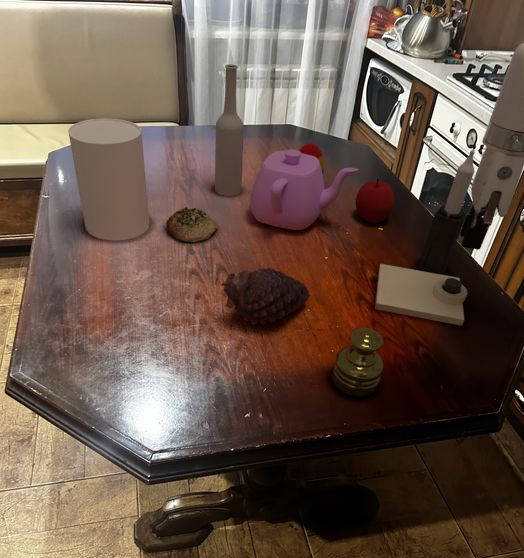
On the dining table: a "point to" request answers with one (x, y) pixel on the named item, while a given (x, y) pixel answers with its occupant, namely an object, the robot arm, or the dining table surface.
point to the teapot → (292, 190)
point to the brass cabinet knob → (359, 363)
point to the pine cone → (264, 294)
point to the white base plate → (418, 295)
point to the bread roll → (191, 225)
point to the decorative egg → (313, 153)
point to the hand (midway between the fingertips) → (469, 241)
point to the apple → (375, 201)
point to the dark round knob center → (452, 286)
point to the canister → (110, 177)
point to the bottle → (229, 141)
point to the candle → (447, 223)
